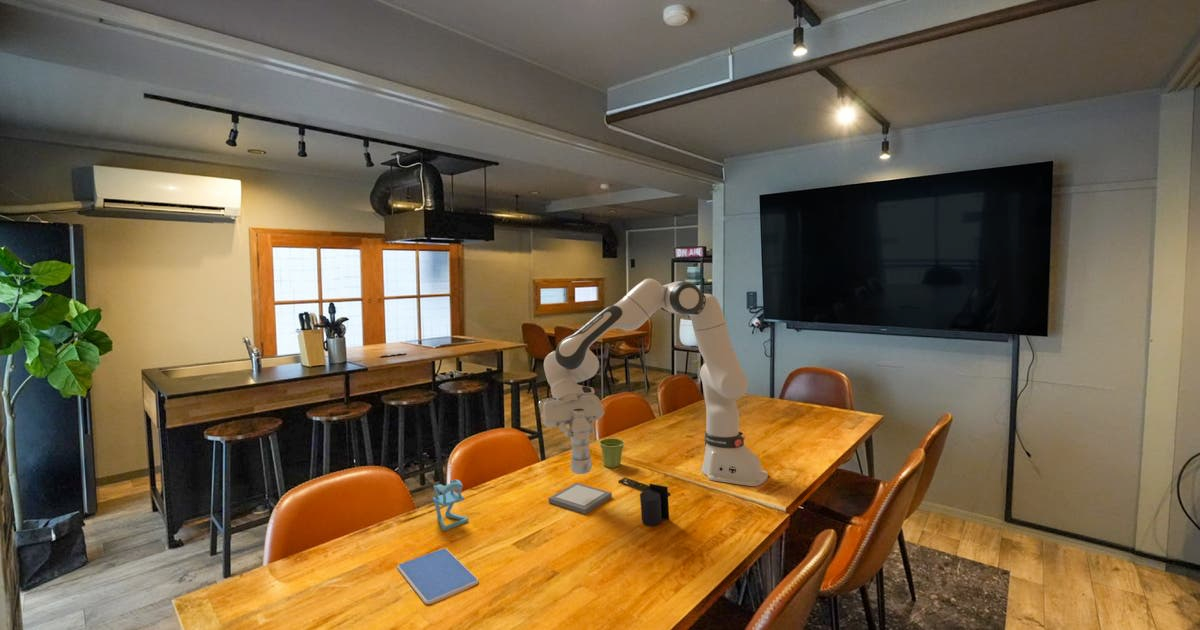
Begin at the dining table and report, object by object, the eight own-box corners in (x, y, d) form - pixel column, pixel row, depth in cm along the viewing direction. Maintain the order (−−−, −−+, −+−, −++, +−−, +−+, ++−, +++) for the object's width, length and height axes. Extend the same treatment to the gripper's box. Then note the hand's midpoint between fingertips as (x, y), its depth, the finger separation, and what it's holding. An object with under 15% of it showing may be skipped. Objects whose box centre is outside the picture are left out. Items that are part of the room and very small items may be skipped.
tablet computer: (395, 569, 124) (395, 564, 124) (445, 550, 132) (445, 545, 132) (426, 608, 109) (426, 602, 109) (480, 585, 117) (480, 579, 117)
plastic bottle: (570, 469, 163) (567, 407, 160) (591, 467, 163) (588, 406, 161) (571, 477, 156) (567, 414, 154) (593, 475, 157) (590, 412, 154)
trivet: (611, 497, 162) (611, 492, 161) (585, 514, 150) (585, 509, 150) (576, 487, 170) (576, 482, 169) (548, 502, 158) (548, 497, 158)
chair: (454, 512, 152) (452, 473, 152) (468, 521, 147) (467, 480, 146) (429, 521, 147) (427, 480, 146) (443, 531, 141) (442, 488, 140)
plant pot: (625, 460, 193) (625, 438, 193) (624, 470, 184) (624, 446, 183) (600, 460, 194) (600, 437, 193) (598, 469, 185) (598, 446, 184)
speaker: (654, 512, 151) (653, 479, 149) (669, 519, 147) (668, 486, 145) (636, 523, 146) (635, 489, 144) (652, 531, 142) (651, 497, 140)
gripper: (539, 394, 158) (552, 434, 151) (597, 387, 168) (612, 424, 160) (534, 405, 163) (546, 444, 155) (591, 397, 172) (605, 434, 165)
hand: (580, 434), depth 158 cm, fingers closed on plastic bottle, 6 cm apart
